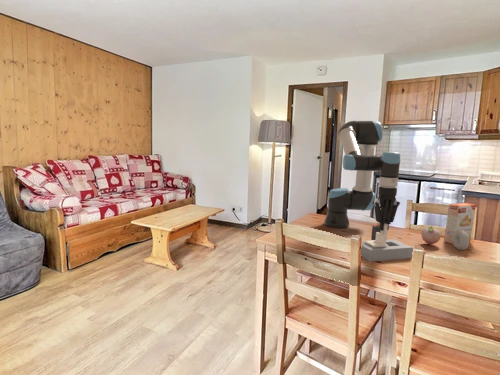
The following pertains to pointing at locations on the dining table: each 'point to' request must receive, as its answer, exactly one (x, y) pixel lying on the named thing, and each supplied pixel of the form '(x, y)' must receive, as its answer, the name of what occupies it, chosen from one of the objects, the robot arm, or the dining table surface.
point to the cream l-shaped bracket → (378, 241)
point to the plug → (374, 230)
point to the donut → (461, 240)
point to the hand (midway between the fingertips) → (383, 237)
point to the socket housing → (387, 251)
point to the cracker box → (459, 220)
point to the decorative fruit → (430, 235)
